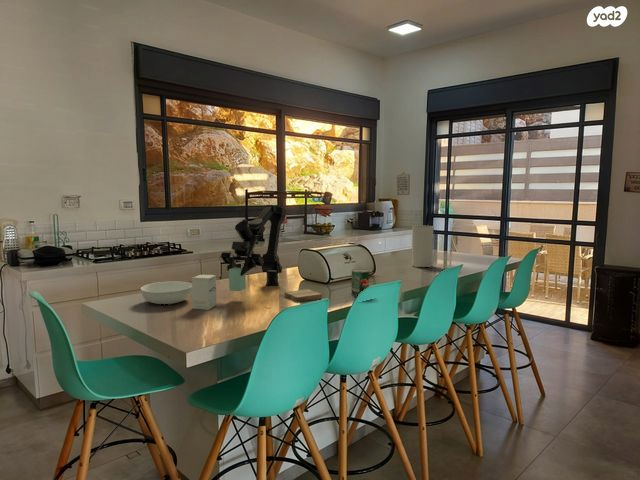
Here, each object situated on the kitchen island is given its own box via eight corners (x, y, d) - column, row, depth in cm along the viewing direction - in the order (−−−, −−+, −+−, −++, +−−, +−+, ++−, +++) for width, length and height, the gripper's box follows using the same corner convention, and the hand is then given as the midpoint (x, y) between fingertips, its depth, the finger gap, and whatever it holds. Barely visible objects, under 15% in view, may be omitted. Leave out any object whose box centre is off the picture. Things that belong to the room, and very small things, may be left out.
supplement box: (209, 309, 175) (208, 278, 174) (191, 309, 177) (190, 277, 176) (217, 305, 183) (216, 274, 181) (200, 304, 184) (199, 274, 183)
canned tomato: (352, 292, 206) (352, 268, 205) (369, 292, 205) (369, 269, 204) (350, 295, 199) (350, 271, 198) (368, 296, 197) (368, 272, 196)
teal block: (235, 288, 194) (234, 267, 193) (245, 288, 193) (245, 268, 192) (229, 290, 190) (228, 269, 189) (239, 291, 188) (239, 270, 187)
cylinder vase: (431, 268, 269) (432, 227, 267) (410, 267, 274) (410, 226, 271) (433, 265, 281) (434, 225, 278) (413, 264, 285) (414, 225, 283)
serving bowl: (129, 305, 182) (129, 289, 182) (165, 294, 202) (164, 279, 201) (171, 310, 175) (170, 293, 174) (203, 298, 194) (203, 283, 193)
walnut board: (284, 297, 198) (284, 292, 198) (308, 294, 204) (308, 289, 204) (297, 303, 188) (297, 297, 187) (321, 299, 194) (321, 294, 194)
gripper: (222, 233, 195) (208, 262, 186) (260, 235, 189) (248, 264, 180) (231, 249, 204) (219, 277, 194) (268, 251, 197) (257, 280, 188)
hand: (235, 274), depth 189 cm, fingers closed on teal block, 5 cm apart
